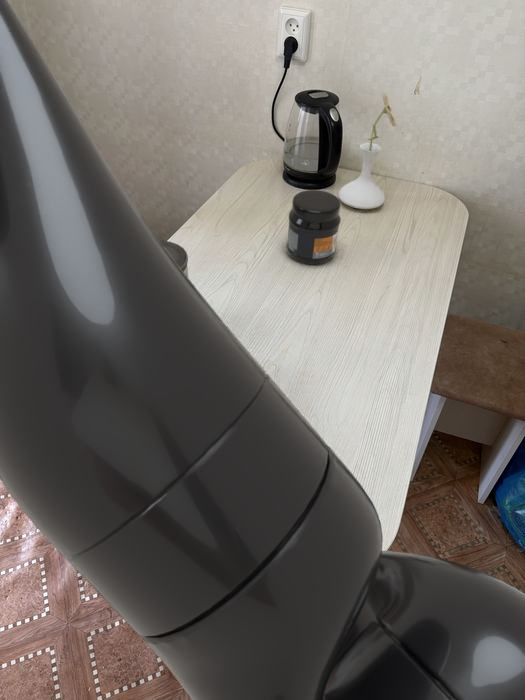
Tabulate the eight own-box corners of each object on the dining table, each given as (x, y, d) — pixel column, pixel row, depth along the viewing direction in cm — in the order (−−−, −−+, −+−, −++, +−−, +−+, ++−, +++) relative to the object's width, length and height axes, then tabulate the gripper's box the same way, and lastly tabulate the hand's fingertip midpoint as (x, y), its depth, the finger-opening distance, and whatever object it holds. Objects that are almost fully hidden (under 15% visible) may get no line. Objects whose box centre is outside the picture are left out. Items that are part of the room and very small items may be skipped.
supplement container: (344, 259, 107) (353, 207, 98) (300, 270, 103) (306, 217, 95) (318, 235, 113) (325, 184, 105) (277, 245, 110) (281, 193, 101)
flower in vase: (376, 218, 120) (400, 107, 103) (331, 206, 124) (347, 97, 106) (390, 196, 129) (414, 90, 112) (347, 185, 132) (365, 81, 115)
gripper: (366, 475, 33) (288, 443, 50) (162, 525, 29) (152, 472, 46) (386, 590, 33) (300, 519, 49) (183, 653, 29) (165, 554, 46)
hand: (228, 496), depth 48 cm, fingers closed
